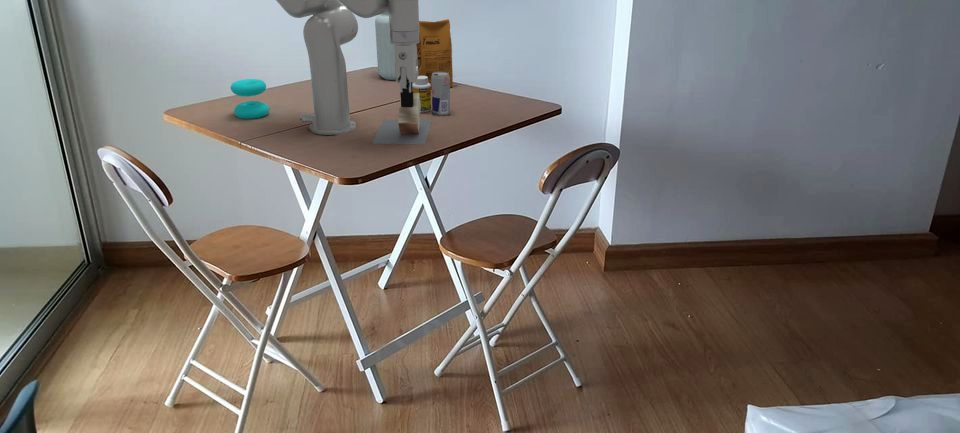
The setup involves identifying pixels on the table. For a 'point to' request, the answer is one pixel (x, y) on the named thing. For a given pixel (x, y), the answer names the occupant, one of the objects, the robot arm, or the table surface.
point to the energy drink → (440, 93)
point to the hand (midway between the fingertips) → (407, 106)
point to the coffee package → (434, 49)
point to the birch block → (410, 117)
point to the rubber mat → (391, 134)
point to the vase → (385, 48)
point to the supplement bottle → (423, 92)
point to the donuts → (251, 107)
